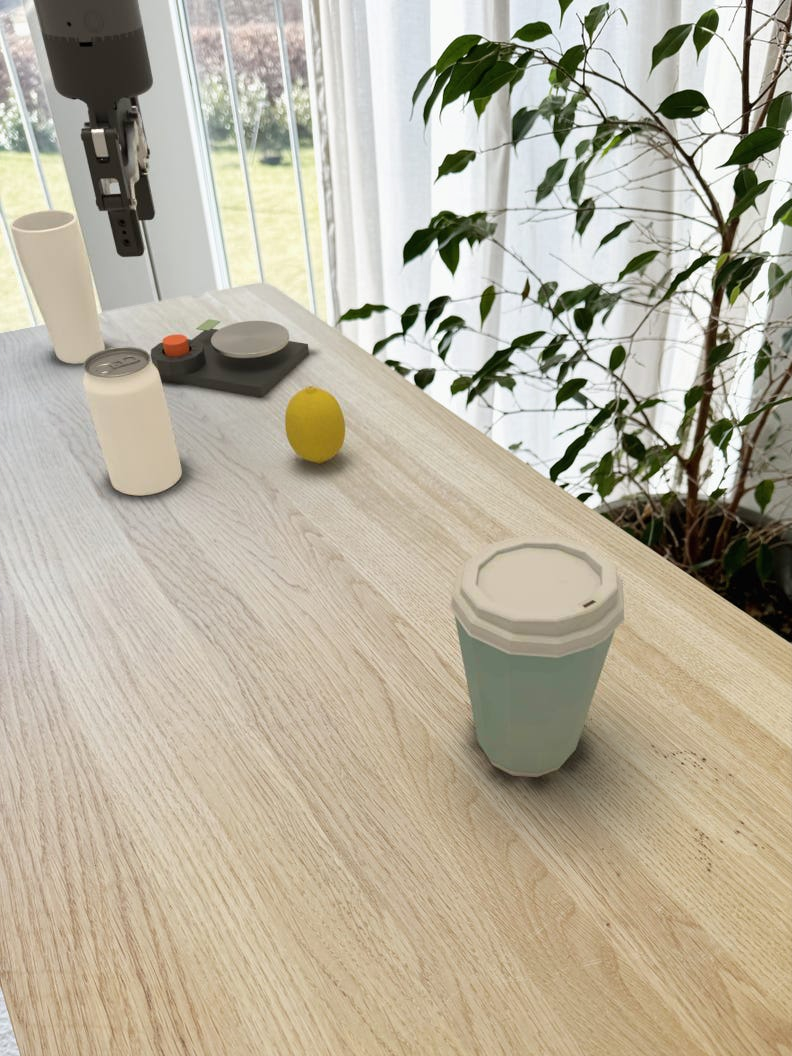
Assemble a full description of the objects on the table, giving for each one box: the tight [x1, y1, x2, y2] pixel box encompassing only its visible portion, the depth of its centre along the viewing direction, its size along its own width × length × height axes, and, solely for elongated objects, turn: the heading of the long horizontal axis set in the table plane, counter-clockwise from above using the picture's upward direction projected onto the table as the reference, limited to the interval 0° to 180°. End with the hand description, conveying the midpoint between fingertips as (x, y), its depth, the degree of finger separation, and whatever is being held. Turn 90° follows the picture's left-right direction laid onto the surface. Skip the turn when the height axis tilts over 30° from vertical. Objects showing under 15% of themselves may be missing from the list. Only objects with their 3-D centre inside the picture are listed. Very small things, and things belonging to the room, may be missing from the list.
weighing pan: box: [195, 318, 290, 358], centre depth 110 cm, size 12×8×1 cm
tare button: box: [161, 333, 190, 357], centre depth 108 cm, size 3×3×2 cm
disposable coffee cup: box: [449, 534, 625, 778], centre depth 64 cm, size 11×11×15 cm
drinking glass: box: [9, 209, 106, 365], centre depth 109 cm, size 7×7×15 cm
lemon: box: [284, 385, 346, 465], centre depth 94 cm, size 6×6×8 cm
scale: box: [150, 328, 310, 399], centre depth 111 cm, size 14×12×3 cm
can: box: [82, 346, 183, 497], centre depth 90 cm, size 6×6×12 cm
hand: (137, 236), depth 88 cm, fingers open, 8 cm apart
